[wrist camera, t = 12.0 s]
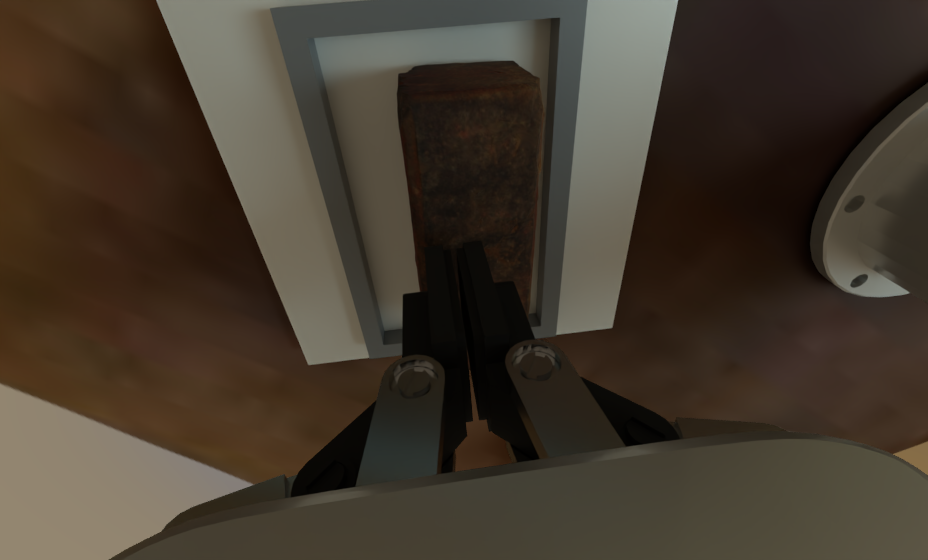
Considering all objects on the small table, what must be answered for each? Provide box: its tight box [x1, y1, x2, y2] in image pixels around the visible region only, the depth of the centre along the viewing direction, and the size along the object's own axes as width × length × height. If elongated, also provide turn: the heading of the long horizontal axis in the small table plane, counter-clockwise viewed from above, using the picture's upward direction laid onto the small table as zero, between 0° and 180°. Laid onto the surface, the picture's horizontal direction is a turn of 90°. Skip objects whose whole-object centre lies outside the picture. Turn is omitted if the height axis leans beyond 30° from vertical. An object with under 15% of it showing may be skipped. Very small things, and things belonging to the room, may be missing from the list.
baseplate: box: [156, 0, 678, 365], centre depth 17 cm, size 16×16×2 cm
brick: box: [397, 61, 545, 370], centre depth 15 cm, size 11×4×5 cm, turn 2°
